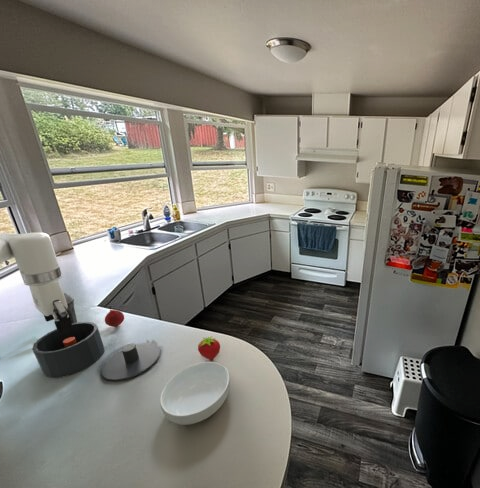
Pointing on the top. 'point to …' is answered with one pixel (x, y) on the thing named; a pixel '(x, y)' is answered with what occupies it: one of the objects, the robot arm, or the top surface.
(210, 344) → the strawberry
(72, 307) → the beverage cup
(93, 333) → the processor bowl
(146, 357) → the lid
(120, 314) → the onion
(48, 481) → the top surface
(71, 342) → the blade
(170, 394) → the cereal bowl
